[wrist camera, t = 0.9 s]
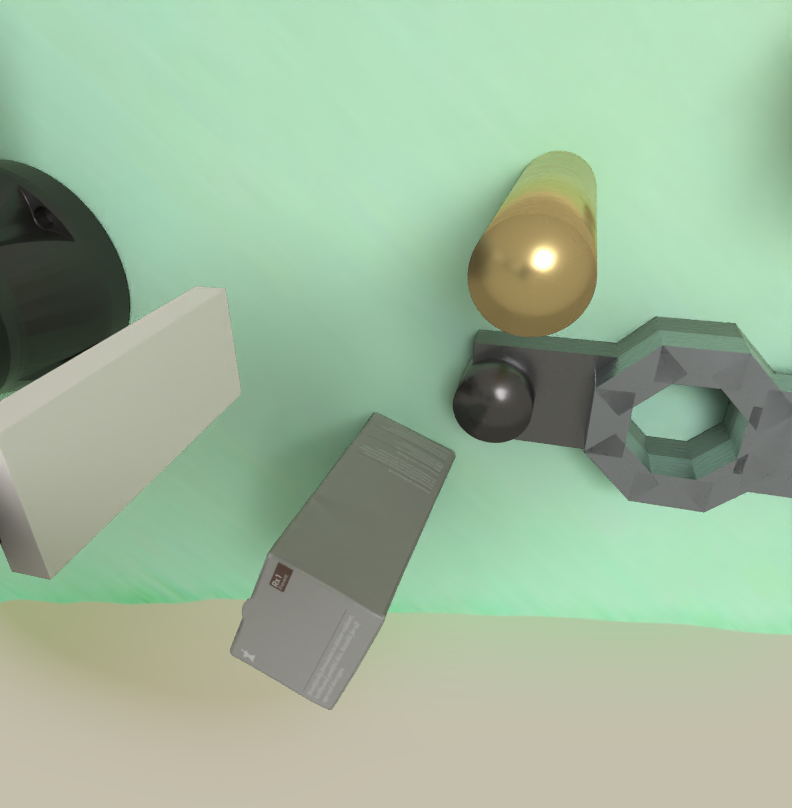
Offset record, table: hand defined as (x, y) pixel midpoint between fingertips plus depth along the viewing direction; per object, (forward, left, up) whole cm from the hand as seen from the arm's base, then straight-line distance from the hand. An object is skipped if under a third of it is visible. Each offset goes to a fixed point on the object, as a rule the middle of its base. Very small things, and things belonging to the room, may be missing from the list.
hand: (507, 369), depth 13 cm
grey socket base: (+8, -11, -22) cm, 26 cm away
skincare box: (-9, -19, -23) cm, 31 cm away
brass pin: (0, 0, -22) cm, 22 cm away
